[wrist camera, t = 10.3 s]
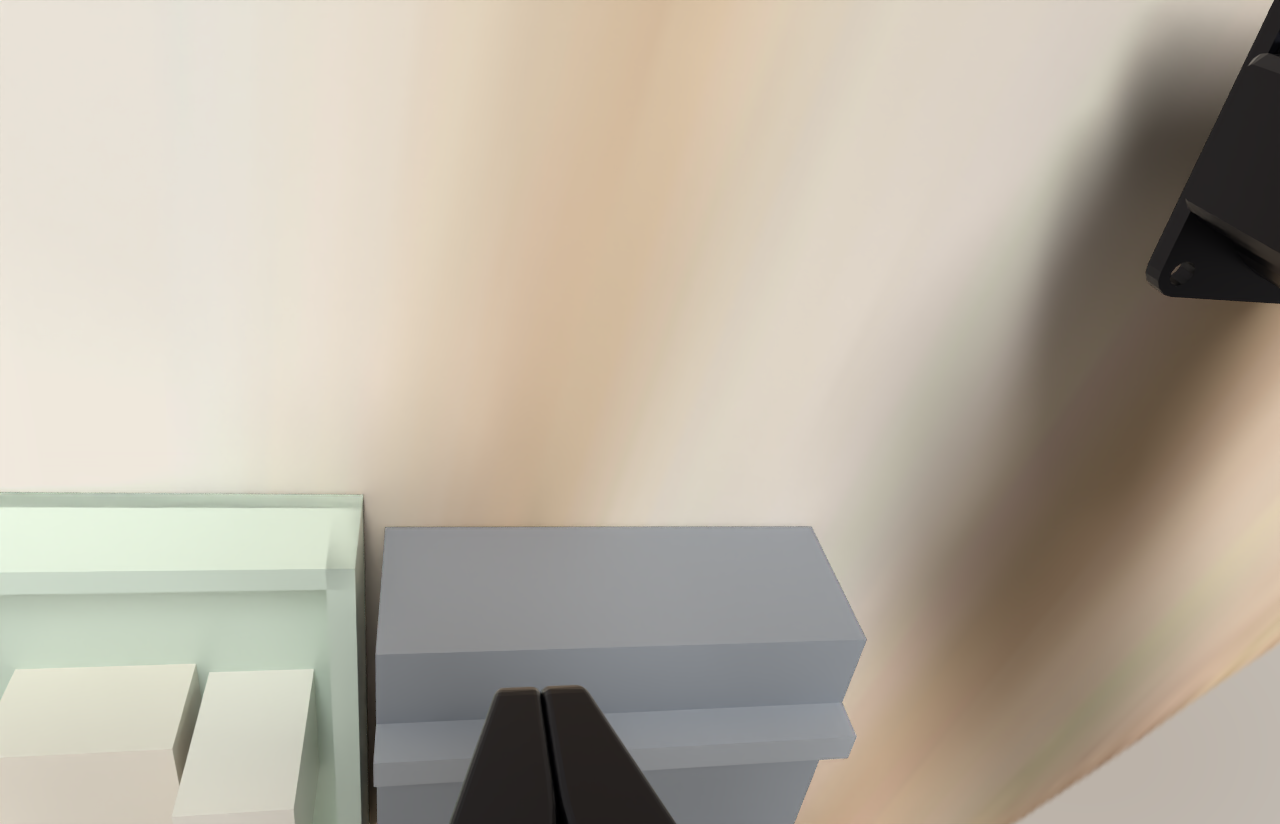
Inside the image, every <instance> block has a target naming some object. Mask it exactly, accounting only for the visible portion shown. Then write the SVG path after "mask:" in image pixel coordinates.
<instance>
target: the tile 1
mask: <svg viewBox="0 0 1280 824" xmlns="http://www.w3.org/2000/svg"><path fill="white" fill-rule="evenodd" d="M201 702H202V698H201V692H200V685H199V679H198V673H197V667H196V664H166V665H135V666H104V667H72V668H41V669H15V671H14V673H13V675H12V677H11V679H10V681H9V683H8V685H7V688H6V690H5V692H4V694H3V696H2V698H1V700H0V824H173V822H172V813H173V809H174V805H175V801H176V798H177V794H178V790H179V786H180V782H181V779H182V775H183V771H184V767H185V763H186V759H187V756H188V752H189V748H190V744H191V740H192V736H193V733H194V729H195V725H196V721H197V717H198V713H199V710H200V706H201Z"/></svg>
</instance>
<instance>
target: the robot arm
mask: <svg viewBox="0 0 1280 824" xmlns="http://www.w3.org/2000/svg"><path fill="white" fill-rule="evenodd" d="M1180 264H1181V266H1180V267H1179V269H1178V270H1177V271H1176V272H1175V273H1173V274H1172V275H1171V273H1172V271H1173V270H1174V269H1175V267H1177V266H1178V265H1180ZM1146 279H1147V281H1148V282H1149V284H1150V285H1151V286H1153V287H1154V288H1155V289H1157V290H1158V291H1159V292H1161V293H1162V294H1164V295H1167V296H1170V297H1183V298H1199V299H1214V300H1230V301H1246V302H1262V303H1277V304H1280V0H1274V2H1273V4H1272V6H1271V8H1270V10H1269V12H1268V14H1267V16H1266V18H1265V20H1264V22H1263V25H1262V27H1261V29H1260V31H1259V33H1258V35H1257V37H1256V39H1255V41H1254V43H1253V45H1252V47H1251V50H1250V52H1249V54H1248V56H1247V58H1246V60H1245V62H1244V64H1243V66H1242V68H1241V70H1240V73H1239V75H1238V77H1237V79H1236V81H1235V83H1234V85H1233V87H1232V89H1231V91H1230V93H1229V96H1228V98H1227V100H1226V102H1225V104H1224V106H1223V108H1222V110H1221V112H1220V114H1219V116H1218V119H1217V121H1216V123H1215V125H1214V127H1213V129H1212V131H1211V133H1210V135H1209V137H1208V139H1207V142H1206V144H1205V146H1204V148H1203V150H1202V152H1201V154H1200V156H1199V158H1198V160H1197V162H1196V165H1195V167H1194V169H1193V171H1192V173H1191V175H1190V177H1189V179H1188V181H1187V183H1186V185H1185V188H1184V190H1183V192H1182V194H1181V196H1180V198H1179V200H1178V202H1177V204H1176V206H1175V208H1174V211H1173V213H1172V215H1171V217H1170V219H1169V221H1168V223H1167V225H1166V227H1165V229H1164V231H1163V234H1162V236H1161V238H1160V240H1159V242H1158V244H1157V246H1156V248H1155V250H1154V252H1153V254H1152V256H1151V259H1150V261H1149V263H1148V266H1147V269H1146ZM449 824H676V822H675V821H674V819H673V818H672V816H671V815H670V813H669V812H668V810H667V809H666V807H665V806H664V804H663V803H662V801H661V800H660V798H659V797H658V795H657V794H656V792H655V791H654V789H653V788H652V786H651V785H650V783H649V782H648V780H647V779H646V777H645V775H644V774H643V772H642V771H641V769H640V768H639V766H638V765H637V763H636V762H635V760H634V759H633V757H632V756H631V754H630V753H629V751H628V750H627V748H626V747H625V745H624V744H623V742H622V741H621V739H620V738H619V736H618V735H617V733H616V732H615V730H614V729H613V727H612V726H611V724H610V723H609V721H608V720H607V718H606V717H605V715H604V714H603V712H602V711H601V709H600V708H599V706H598V705H597V703H596V702H595V700H594V699H593V697H592V696H591V694H590V693H589V692H588V690H587V689H586V688H584V687H583V686H581V685H560V686H547V687H544V688H543V689H542V690H541V692H539V690H538V689H537V688H535V687H510V688H500V689H498V690H497V691H496V692H495V694H494V696H493V699H492V702H491V704H490V707H489V710H488V713H487V716H486V719H485V722H484V724H483V727H482V730H481V733H480V736H479V739H478V742H477V744H476V747H475V750H474V753H473V756H472V759H471V761H470V764H469V767H468V770H467V773H466V776H465V779H464V781H463V784H462V787H461V790H460V793H459V796H458V799H457V801H456V804H455V807H454V810H453V813H452V816H451V818H450V821H449Z"/></svg>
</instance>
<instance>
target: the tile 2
mask: <svg viewBox="0 0 1280 824" xmlns="http://www.w3.org/2000/svg"><path fill="white" fill-rule="evenodd" d="M319 768H320V762H319V745H318V728H317V712H316V695H315V678H314V669H295V670H264V671H233V672H209V675H208V679H207V683H206V687H205V690H204V694H203V698H202V702H201V706H200V710H199V713H198V717H197V721H196V725H195V729H194V733H193V736H192V740H191V744H190V748H189V752H188V756H187V759H186V763H185V767H184V771H183V775H182V779H181V782H180V786H179V790H178V794H177V798H176V801H175V805H174V809H173V813H172V822H173V824H313V816H314V808H315V800H316V792H317V784H318V776H319Z"/></svg>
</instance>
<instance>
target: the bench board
mask: <svg viewBox="0 0 1280 824" xmlns="http://www.w3.org/2000/svg"><path fill="white" fill-rule="evenodd" d="M866 640H867V639H866V637H865V635H864V633H863V631H862V629H861V627H860V625H859V623H858V621H857V619H856V617H855V615H854V613H853V611H852V609H851V607H850V604H849V602H848V600H847V598H846V596H845V594H844V592H843V590H842V588H841V586H840V584H839V582H838V580H837V578H836V576H835V574H834V572H833V570H832V568H831V566H830V564H829V562H828V560H827V557H826V555H825V553H824V551H823V549H822V547H821V545H820V543H819V541H818V539H817V537H816V535H815V533H814V531H813V529H812V527H385V538H384V551H383V564H382V577H381V590H380V603H379V616H378V629H377V641H376V654H375V658H376V734H375V748H374V762H373V773H374V787H377V824H449V821H450V818H451V816H452V813H453V810H454V807H455V804H456V801H457V799H458V796H459V793H460V790H461V787H462V784H463V781H464V779H465V776H466V773H467V770H468V767H469V764H470V761H471V759H472V756H473V753H474V750H475V747H476V744H477V742H478V739H479V736H480V733H481V730H482V727H483V724H484V722H485V719H486V716H487V713H488V710H489V707H490V704H491V702H492V699H493V696H494V694H495V692H496V691H497V690H498V689H500V688H510V687H535V688H537V689H538V690H539V692H541V690H542V689H543V688H544V687H547V686H560V685H581V686H583V687H584V688H586V689H587V690H588V692H589V693H590V694H591V696H592V697H593V699H594V700H595V702H596V703H597V705H598V706H599V708H600V709H601V711H602V712H603V714H604V715H605V717H606V718H607V720H608V721H609V723H610V724H611V726H612V727H613V729H614V730H615V732H616V733H617V735H618V736H619V738H620V739H621V741H622V742H623V744H624V745H625V747H626V748H627V750H628V751H629V753H630V754H631V756H632V757H633V759H634V760H635V762H636V763H637V765H638V766H639V768H640V769H641V771H642V772H643V774H644V775H645V777H646V779H647V780H648V782H649V783H650V785H651V786H652V788H653V789H654V791H655V792H656V794H657V795H658V797H659V798H660V800H661V801H662V803H663V804H664V806H665V807H666V809H667V810H668V812H669V813H670V815H671V816H672V818H673V819H674V821H675V822H676V824H794V823H795V820H796V818H797V815H798V812H799V810H800V807H801V805H802V802H803V800H804V797H805V795H806V792H807V790H808V787H809V785H810V782H811V780H812V777H813V774H814V772H815V769H816V767H817V764H818V762H819V760H824V759H841V758H848V756H849V754H850V751H851V749H852V747H853V744H854V742H855V739H856V737H857V736H856V734H855V732H854V729H853V727H852V725H851V722H850V720H849V718H848V715H847V713H846V711H845V708H844V706H843V704H842V701H843V698H844V696H845V693H846V691H847V688H848V686H849V683H850V681H851V678H852V676H853V673H854V671H855V668H856V666H857V663H858V660H859V658H860V655H861V653H862V650H863V648H864V645H865V643H866Z"/></svg>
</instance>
